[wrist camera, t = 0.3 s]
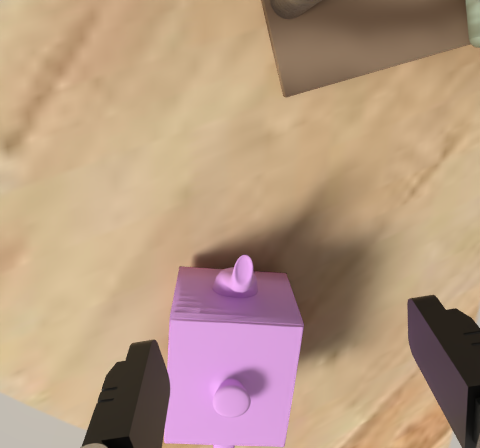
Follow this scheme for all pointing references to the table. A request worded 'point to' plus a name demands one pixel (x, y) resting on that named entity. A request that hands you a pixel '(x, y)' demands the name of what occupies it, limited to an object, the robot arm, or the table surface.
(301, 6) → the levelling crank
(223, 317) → the teapot
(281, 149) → the table surface
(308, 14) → the walnut base
